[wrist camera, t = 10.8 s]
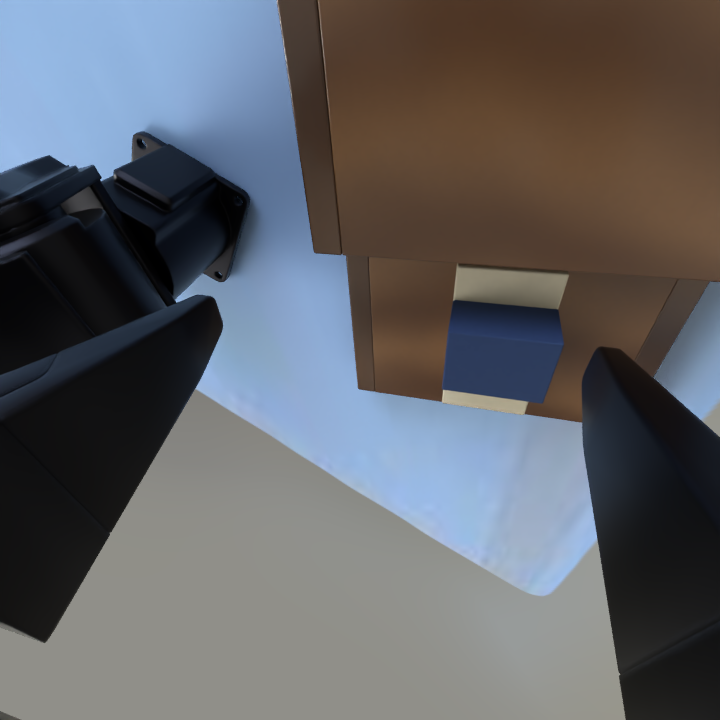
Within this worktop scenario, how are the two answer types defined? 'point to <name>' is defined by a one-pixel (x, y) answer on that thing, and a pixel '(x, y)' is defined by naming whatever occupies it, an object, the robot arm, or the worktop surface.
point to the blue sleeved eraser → (503, 337)
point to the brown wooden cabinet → (510, 167)
